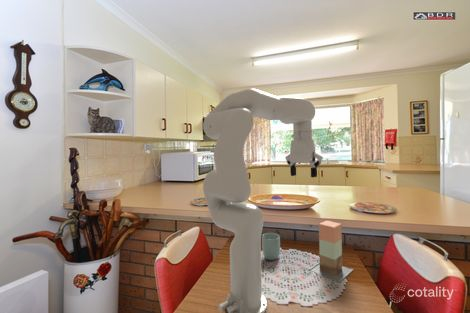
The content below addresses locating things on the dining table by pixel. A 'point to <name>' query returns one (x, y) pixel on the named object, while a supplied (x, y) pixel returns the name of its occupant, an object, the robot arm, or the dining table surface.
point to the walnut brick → (331, 265)
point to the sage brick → (330, 249)
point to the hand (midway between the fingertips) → (303, 176)
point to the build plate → (338, 277)
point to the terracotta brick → (330, 231)
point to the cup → (271, 245)
